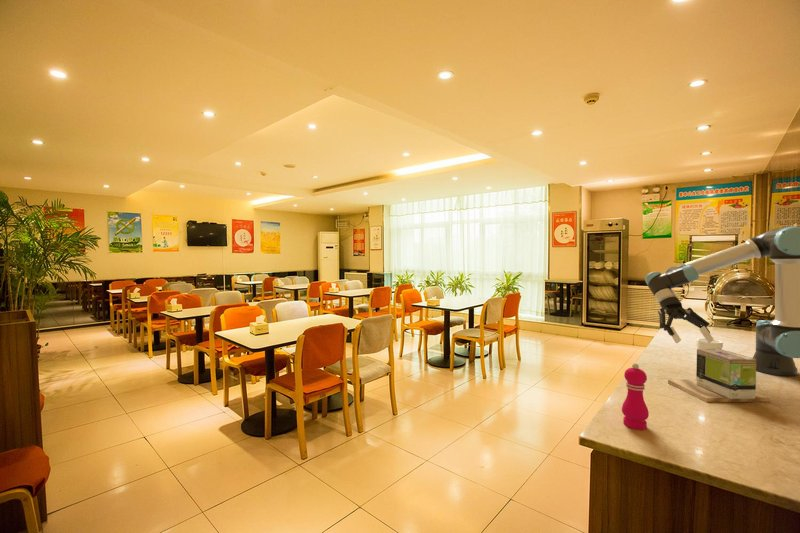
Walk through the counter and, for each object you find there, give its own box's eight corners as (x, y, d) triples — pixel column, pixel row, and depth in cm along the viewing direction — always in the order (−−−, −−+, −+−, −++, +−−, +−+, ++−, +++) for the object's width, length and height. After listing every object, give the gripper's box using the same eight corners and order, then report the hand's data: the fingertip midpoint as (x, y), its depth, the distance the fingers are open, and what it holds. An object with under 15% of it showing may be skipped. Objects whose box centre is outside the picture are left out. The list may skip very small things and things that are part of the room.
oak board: (723, 382, 151) (723, 379, 151) (769, 401, 132) (769, 397, 132) (668, 383, 151) (668, 379, 151) (706, 402, 132) (706, 397, 132)
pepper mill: (616, 420, 118) (617, 360, 118) (637, 419, 119) (637, 359, 118) (632, 431, 111) (633, 367, 110) (654, 430, 112) (655, 366, 111)
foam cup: (700, 369, 167) (700, 342, 167) (692, 364, 176) (693, 337, 175) (725, 372, 164) (726, 343, 163) (717, 366, 172) (717, 339, 172)
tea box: (756, 399, 130) (758, 358, 129) (729, 399, 130) (730, 359, 129) (719, 384, 145) (720, 347, 145) (694, 384, 145) (695, 348, 144)
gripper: (690, 305, 168) (718, 345, 154) (637, 306, 168) (660, 346, 154) (700, 295, 163) (730, 335, 148) (645, 296, 162) (669, 337, 148)
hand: (694, 341), depth 151 cm, fingers open, 13 cm apart
